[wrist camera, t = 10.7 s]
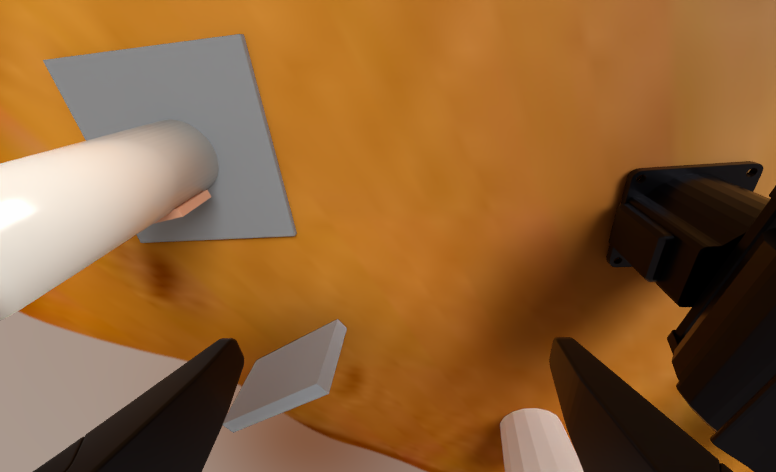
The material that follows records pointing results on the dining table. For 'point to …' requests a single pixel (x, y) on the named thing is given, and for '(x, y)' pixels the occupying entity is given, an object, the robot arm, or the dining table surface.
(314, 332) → the screen
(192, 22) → the dining table surface
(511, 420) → the shot glass
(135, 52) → the slate mat
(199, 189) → the white rounded cylinder
